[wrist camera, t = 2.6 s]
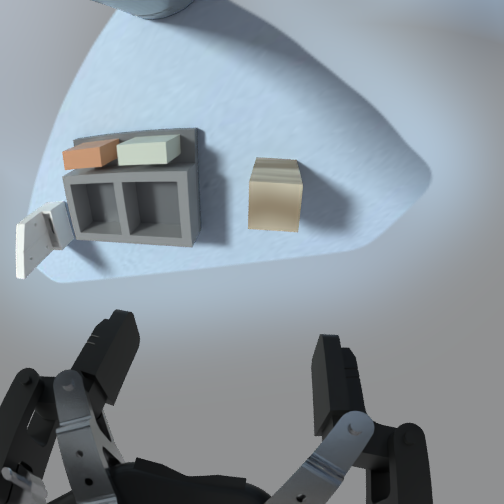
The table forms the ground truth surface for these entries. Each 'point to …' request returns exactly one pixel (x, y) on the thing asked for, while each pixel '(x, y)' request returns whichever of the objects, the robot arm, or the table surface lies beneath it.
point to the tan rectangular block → (275, 195)
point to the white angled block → (41, 236)
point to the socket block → (135, 187)
